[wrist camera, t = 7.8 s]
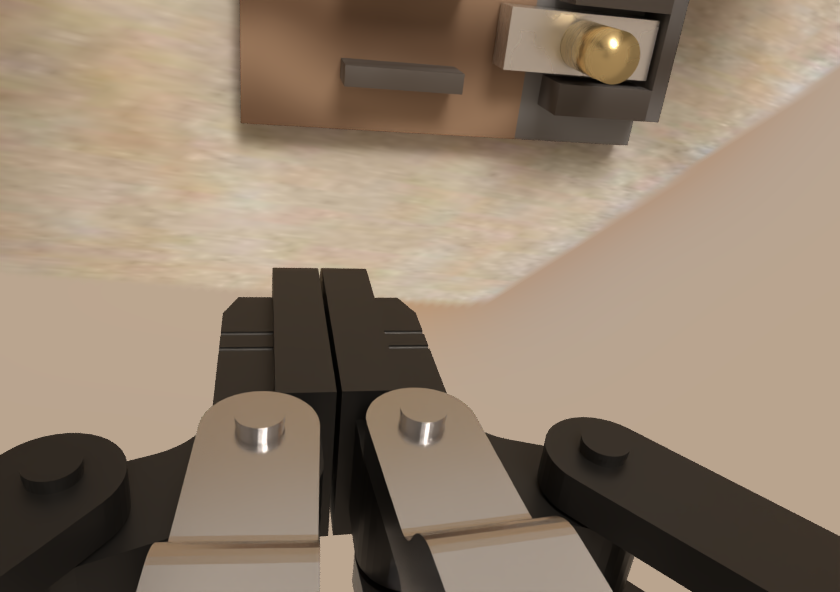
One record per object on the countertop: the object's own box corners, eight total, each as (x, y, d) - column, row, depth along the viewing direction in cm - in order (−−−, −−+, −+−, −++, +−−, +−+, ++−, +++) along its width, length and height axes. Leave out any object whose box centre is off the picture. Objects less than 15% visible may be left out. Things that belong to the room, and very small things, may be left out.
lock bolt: (501, 2, 36) (540, 15, 31) (642, 16, 38) (702, 31, 33) (492, 63, 38) (528, 85, 32) (629, 74, 39) (684, 96, 34)
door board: (239, -120, 33) (236, -125, 29) (662, -65, 38) (705, -64, 34) (241, 116, 38) (239, 136, 34) (616, 138, 43) (649, 158, 39)
